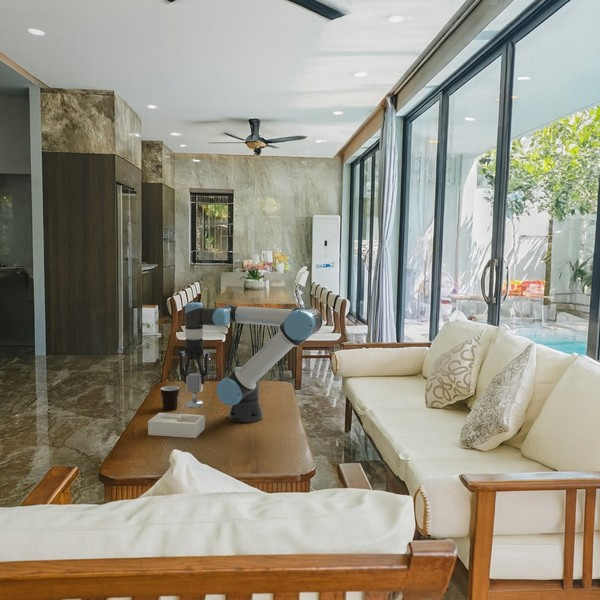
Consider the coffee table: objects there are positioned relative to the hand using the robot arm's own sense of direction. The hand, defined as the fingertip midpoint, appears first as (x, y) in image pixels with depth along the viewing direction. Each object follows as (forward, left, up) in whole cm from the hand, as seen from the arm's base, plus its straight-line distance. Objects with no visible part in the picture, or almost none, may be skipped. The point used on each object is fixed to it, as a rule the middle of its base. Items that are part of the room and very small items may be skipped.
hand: (194, 390), depth 243 cm
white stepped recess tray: (+3, +14, -14) cm, 20 cm away
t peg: (0, 0, -7) cm, 7 cm away
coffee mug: (+17, -18, -14) cm, 29 cm away
